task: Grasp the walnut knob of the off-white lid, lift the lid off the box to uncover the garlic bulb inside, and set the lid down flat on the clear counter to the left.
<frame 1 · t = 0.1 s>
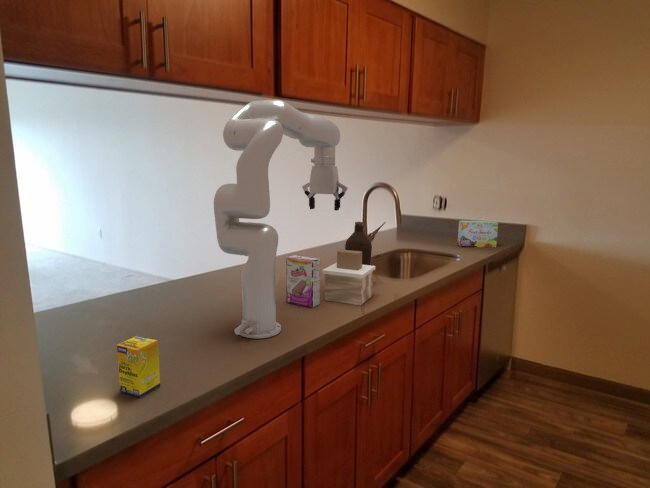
hand: (324, 209, 167), 31 cm above the worktop, tool pointing down, fingers open, 9 cm apart
candy bar box: (303, 304, 158), on the worktop
garlic bulb: (348, 298, 165), resting in box
lid: (349, 271, 163), point 10 cm above the worktop, touching box
snack box: (476, 247, 264), on the worktop
supplement box: (140, 390, 99), on the worktop
olive oil: (357, 283, 184), on the worktop
box: (348, 298, 165), on the worktop
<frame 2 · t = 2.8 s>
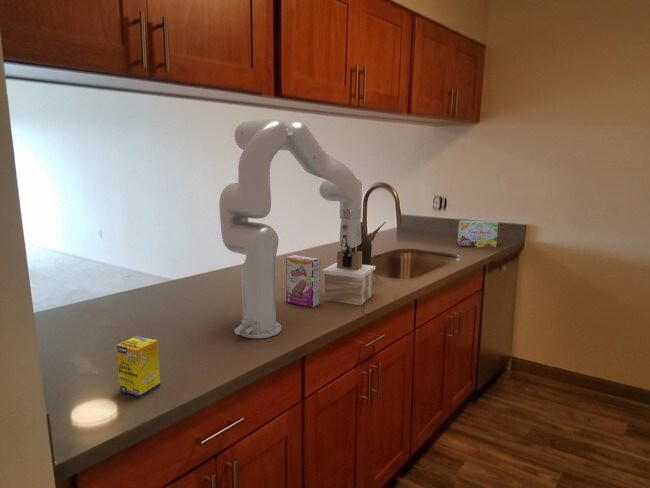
hand: (349, 264, 162), 12 cm above the worktop, tool pointing down, fingers closed on lid, 4 cm apart
lid: (349, 271, 163), point 10 cm above the worktop, touching box, gripper
everything else where it was.
when the fingers open (4 cm above the worktop, at t = 9.7 s): lid drops 2 cm, on the worktop.
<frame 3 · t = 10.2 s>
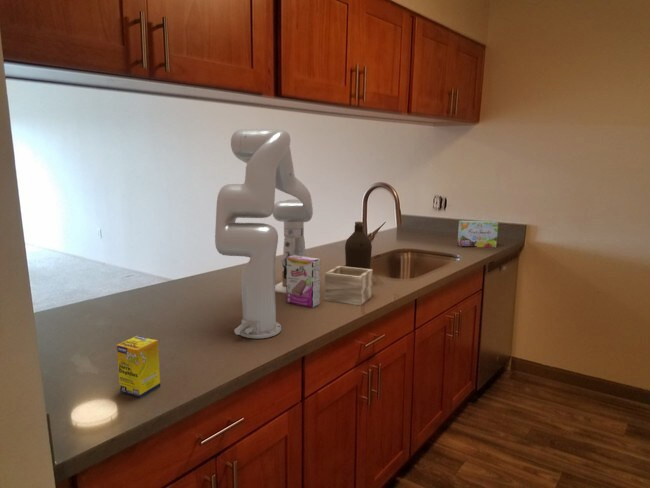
hand: (294, 275, 176), 5 cm above the worktop, tool pointing down, fingers open, 9 cm apart
lid: (294, 289, 177), on the worktop
everything else where it was.
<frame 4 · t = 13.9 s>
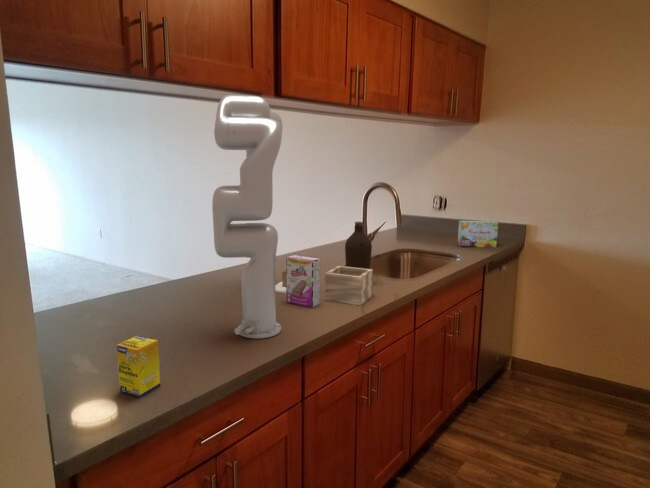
hand: (257, 203, 167), 33 cm above the worktop, tool pointing down, fingers open, 9 cm apart
nothing on the worktop moved.
at the end: lid inside the target area (0.1 cm from its centre), on the worktop; lid tilted 0°; the gripper is holding nothing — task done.
